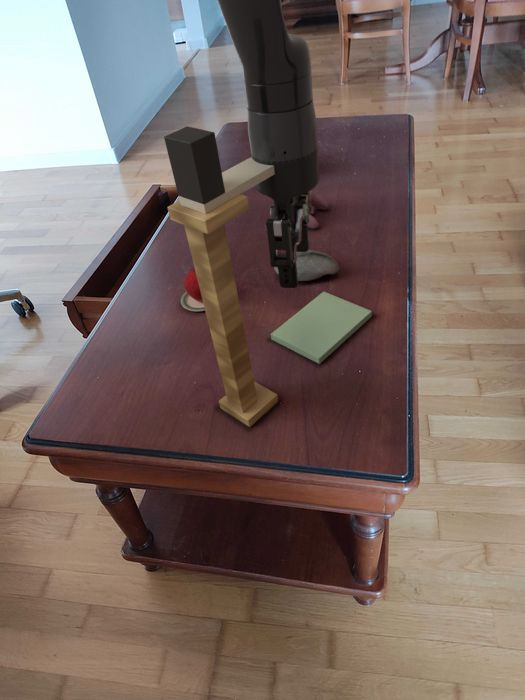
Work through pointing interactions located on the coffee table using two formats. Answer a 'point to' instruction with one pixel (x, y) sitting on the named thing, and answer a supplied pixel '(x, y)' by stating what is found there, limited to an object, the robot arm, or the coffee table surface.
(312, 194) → the video game controller
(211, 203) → the wooden mallet
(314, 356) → the pale green rectangular panel
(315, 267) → the seashell
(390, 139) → the coffee table surface
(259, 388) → the stand
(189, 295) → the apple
